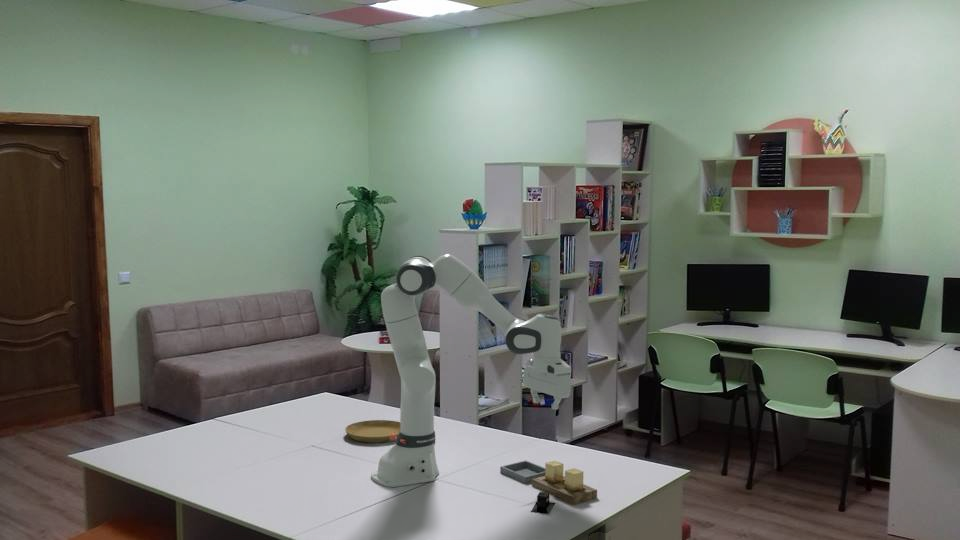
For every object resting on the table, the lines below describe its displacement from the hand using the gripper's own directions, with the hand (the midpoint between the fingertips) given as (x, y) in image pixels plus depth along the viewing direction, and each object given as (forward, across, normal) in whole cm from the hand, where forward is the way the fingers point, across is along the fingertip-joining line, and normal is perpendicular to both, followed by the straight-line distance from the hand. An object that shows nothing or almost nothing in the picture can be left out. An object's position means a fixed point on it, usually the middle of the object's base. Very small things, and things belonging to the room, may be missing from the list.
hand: (545, 406), depth 270 cm
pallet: (+24, +14, -3) cm, 28 cm away
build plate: (+25, +20, -17) cm, 36 cm away
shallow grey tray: (+24, -4, -4) cm, 25 cm away
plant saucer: (+25, -73, -22) cm, 80 cm away
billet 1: (+24, +10, -4) cm, 26 cm away
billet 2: (+24, +19, -3) cm, 30 cm away
